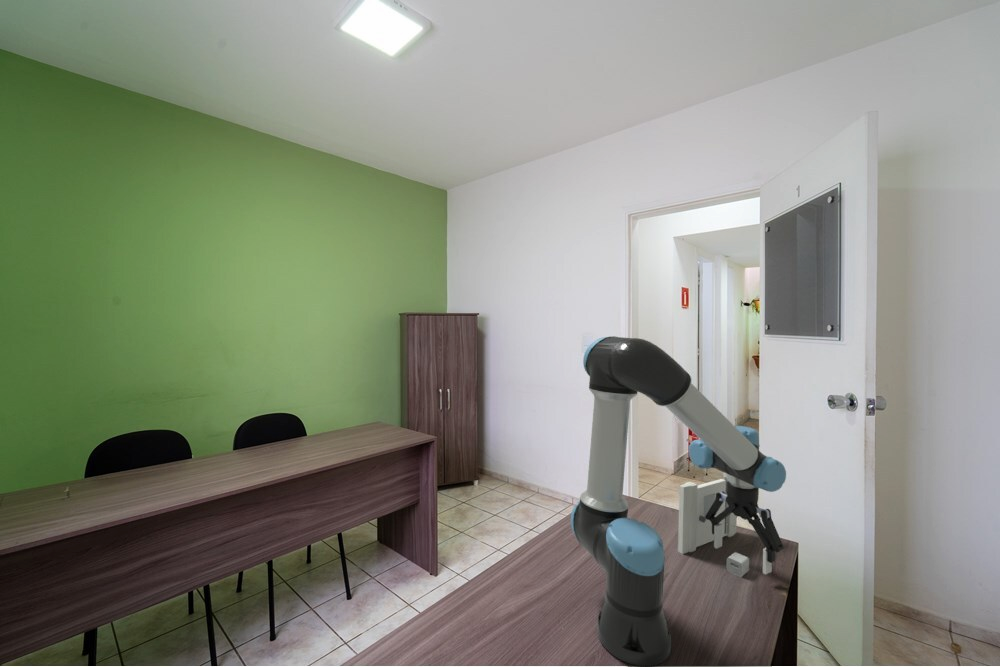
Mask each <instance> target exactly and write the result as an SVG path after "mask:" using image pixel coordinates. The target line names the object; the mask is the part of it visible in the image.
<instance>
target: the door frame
mask: <svg viewBox="0 0 1000 667" xmlns="http://www.w3.org/2000/svg"><path fill="white" fill-rule="evenodd" d="M722 473H723V474H722V476H723V478H722V479H723V480H726V495H727V482H728V481H727V474H726V473H724V472H722ZM698 485H699V484H697V483H695V482H693V481H687V482H684V484H681V485H679V487H678V488H679V489H678V490H679V491H678V496H679V497H678V527H677V528H678V530H677V532H678V534H677V535H678V536H677V537H678V538H677V540H678V541H677V553H678V554H679V553H680V554H681V555H684V554H687V553H693V552H695V551H696V550H697V547H696V530H697V488H698ZM727 507H729V505H728V503H727V502H726V500H725V509H726V508H727ZM737 517H738V516H735V515H734V514H733V513H731V514H730V515H728V516H727V517H726V518H725V533H724V536H726V537H728V538H731V537H733V536H735V534H737V522H738V521H737ZM726 524H728V525H726ZM729 525H730V526H729ZM731 525H732V526H731ZM733 526H735V527H733Z"/></svg>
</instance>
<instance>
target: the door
mask: <svg viewBox="0 0 1000 667" xmlns="http://www.w3.org/2000/svg"><path fill="white" fill-rule="evenodd" d="M697 485H698V488H697V530H696V548H698V547H701V546H704V545H705V544H708V543H710V542H714V535H713V534H712V523H711V521H710V520H707V519H706V518H705V516H706V514H707V513H708V511H709V509H710V508H711V506H712V504H713V503H714V501H715V499H716V493H719V492H722V491H723V492H725V494H726V480H723V478H719V479H716V480H711V481H708V482H705V483H702V484H697ZM724 510H725V501H724V502H723V504H722V505H721V507H720V508H719V510H718V512H717V513H716V515H715V516H714V517H716V516H718V515H719V514H720V513H722V512H723V511H724ZM719 523H721V524H722V538H724V537H725V535H724V533H725V518H724V519H723V520H722V521H721V522H719Z"/></svg>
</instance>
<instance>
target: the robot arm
mask: <svg viewBox="0 0 1000 667" xmlns="http://www.w3.org/2000/svg"><path fill="white" fill-rule="evenodd" d="M582 362H583V368H584V371H585V372H586V374H587V375H588V376H589V384H588V390H589V391H590V392H591V393H592V395H593V396H594V399H593V412H592V425H591V426H592V427H591V434H590V435H591V437H590V450H589V460H588V470H587V471H588V472H587V473H588V475H587V486H586V490H585V491H584V492H582V493H581V494H580V497H579V500H578V501H577V502H576V503H577V504H576V505H574V507H573V509H572V510H571V513H570V528H571V531H572V533H573V534H574V537H575V538H576V540H577V542H578V543H579V544H580V545H581V546H582V548H584V550H586V551H587V553H588V554H589V555H590V556H591V557H592V558H593V559H594V560H595V561H596V563H597V564H598V565H599V566H600V568H602V569H603V571H604V572H605V575H606V576H605V578H606V579H605V580H606V582H605V597H604V599H603V603H602V605H601V608H600V611H599V613H598V615H597V622H596V624H597V625H596V627H597V628H596V631H597V637H598V639H599V641H600V643H601V645H602V646H603V647H604V649H606V651H608V652H609V653H610V655H612V656H614V657H615V658H617V659H619V660H620V661H622V662H624V663H627V664H629V665H633V666H637V667H638V666H639V667H654V666H657V665H660V664H662V663H664V662H666V660H667V659H668V658H669V656H670V655H671V651H672V650H671V649H672V637H671V631H670V629H669V626H668V623H667V618H666V615H665V612H664V609H663V607H664V605H663V603H664V578H665V576H664V575H665V560H666V559H665V558H666V557H665V552H664V551H665V550H664V542H663V540H662V537H661V536H660V534H659V533H658V532H657V530H655V529H654V528H653V527H652V526H651V525H649V524H647V523H645V522H643V521H638V519H635V518H630V517H629V518H628V515H629V514H628V513H629V503H628V502H627V500H626V499H625V498H624V497H623V495H624V480H625V471H626V470H625V468H626V455H627V444H628V433H629V432H628V431H629V419H630V406H631V405H630V404H631V400H632V399H633V398H635V397H636V396H637V395H638V393H640V394H642V395H644V396H645V397H647V398H649V399H650V400H652V402H653V403H655V404H656V405H657V406H659V407H665V408H666V409H667V410H668V411H670V412H671V413H672V414H673V415H674V416H675V417H676V418H677V419H678V420H679V421H681V423H683V425H684V426H685V427H687V428H688V429H689V430H690V431H691V432H692V433H693V434H694V435H695V436H696V437H697V438H698V439H695V440H692V441H691V443H690V444H689V445H688V455H689V456H688V457H689V459H690V461H691V462H692V464H693V465H694V466H695V467H696V468H698V469H706V470H708V469H709V470H710V469H711V468H713V469H714V470H717V471H720V472H722V473H726V474H727V481H728V482H727V495H726V494H725V492H723V491H722V492H719V493H716V499H715V501H714V503H713V504H712V506H711V508H710V509H709V511H708V513H707V514H706V516H705V518H706V519H707V520H710V521H711V523H712V534H713V535H714V541H713V548H715V549H719V548H721V547H723V537H722V524H721V523H719V522H721V521H722V520H723V519H724V518H726V517H727V516H728V515H730V514H731V513H733V514H734V515H735V516H737V517H739V518H741V519H743V520H744V521H745V520H746V521H747V522H748V524H750V525H751V526H752V528H753V529H754V531H755V533H756V534H757V535H758V537H759V539H760V541H761V543H762V544H763V546H764V548H763V549H762V574H764V575H768V574H770V573H772V567H773V564H772V563H775V561H776V553H778V552H781V551H783V550H784V549H785V547H784V545H783V542H782V540H781V537H780V535H779V533H778V530H777V528H776V526H775V523H774V521H773V519H772V511H771V509H769V508H761V507H759V505H758V504H759V503H758V501H759V489H761V490H763V491H765V492H769V493H770V492H771V493H774V492H776V491H779V490H780V489H781V488H783V485H784V483H786V480H787V479H786V478H787V470H786V468H785V466H784V464H783V463H782V462H781V461H779V460H778V459H775V458H773V457H771V456H767V455H765V454H764V453H762V451H760V447H761V446H760V445H761V444H760V438H759V437H760V436H759V432H758V431H757V430H756V429H754V428H753V427H749V426H744V425H743V426H742V425H734V424H733V423H732V422H731V421H730V420H729V418H727V417H726V416H725V415H724V414H723V413H722V412H721V411H720V410H719V409H718V408H717V407H716V406H715V405H714V404H713V403H712V402H711V401H710V400H709V399H708V398H707V397H706V396H705V395H704V394H703V393H702V392H701V391H700V390H699V389H698V388H697V387H696V386H694V384H693V381H692V376H691V375H690V374H689V373H688V372H687V370H685V369H684V367H682V366H681V364H680V363H678V362H677V360H675V359H674V358H673V357H671V356H670V355H669V354H668V353H667V352H666V351H664V349H662V348H661V347H659V346H658V345H657V344H654V343H653V342H651V341H650V340H649V341H648V340H645V339H643V338H637V337H636V338H635V337H634V338H633V337H619V336H615V335H614V336H605V337H599V338H597V339H595V340H593V341H592V342H591V343H590V344H589V345H588V347H587V348H586V350H585V352H584V355H583V361H582ZM725 500H726V502H727V503H728V505H729V507H727V508H726V509H725V510H724V511H723V512H722V513H720V514H719V515H718V516H716V517H714V516H715V515H716V513H717V512H718V510H719V508H720V507H721V505H722V504H723V502H724V501H725Z"/></svg>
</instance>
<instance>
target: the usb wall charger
mask: <svg viewBox="0 0 1000 667" xmlns="http://www.w3.org/2000/svg"><path fill="white" fill-rule="evenodd" d="M749 570H750V558H749V557H748V556H745V555H743V554H741V553H738V552H737V551H735V552H733V553H732V554H731V555H729V556H728V557H727V558H726V571H727V572H728V573H730V574H732V575H735V576H737V577H740V578H742V577H743V576H744V575H746V574H747V573H748V572H749Z"/></svg>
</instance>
